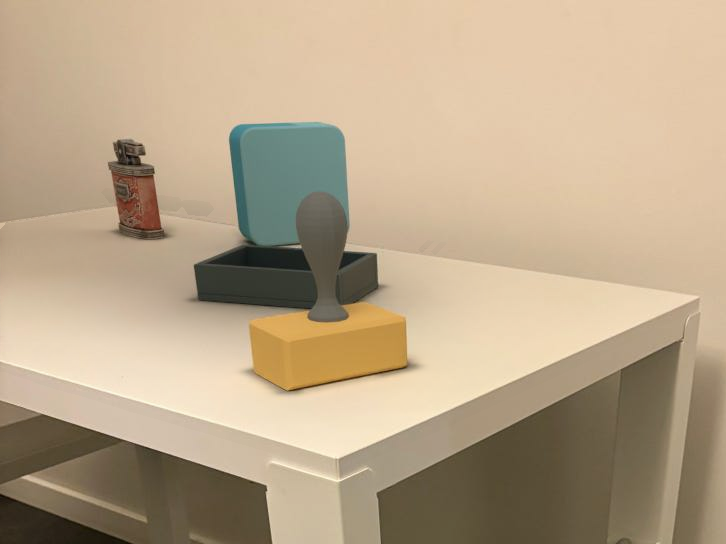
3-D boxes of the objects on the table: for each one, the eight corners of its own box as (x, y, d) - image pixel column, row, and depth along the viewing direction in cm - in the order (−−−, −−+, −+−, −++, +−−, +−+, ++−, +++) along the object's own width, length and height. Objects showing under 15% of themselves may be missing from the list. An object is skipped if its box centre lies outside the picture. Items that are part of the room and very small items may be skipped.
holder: (341, 311, 87) (338, 274, 85) (197, 300, 90) (193, 264, 88) (378, 286, 95) (377, 252, 93) (246, 277, 98) (242, 244, 96)
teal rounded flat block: (336, 233, 118) (329, 121, 112) (351, 239, 115) (344, 124, 109) (239, 241, 113) (226, 124, 107) (251, 248, 110) (238, 127, 104)
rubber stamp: (369, 349, 77) (360, 181, 70) (409, 367, 73) (404, 190, 66) (252, 371, 72) (231, 191, 65) (289, 391, 68) (271, 203, 61)
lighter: (113, 230, 118) (96, 137, 113) (139, 227, 120) (124, 136, 115) (144, 240, 113) (128, 143, 108) (171, 236, 115) (157, 141, 110)
